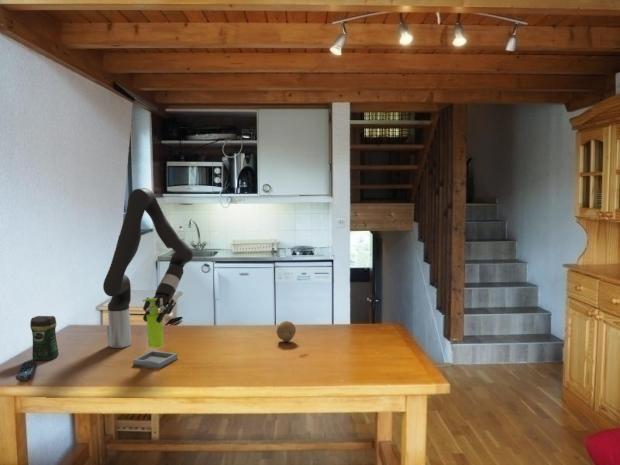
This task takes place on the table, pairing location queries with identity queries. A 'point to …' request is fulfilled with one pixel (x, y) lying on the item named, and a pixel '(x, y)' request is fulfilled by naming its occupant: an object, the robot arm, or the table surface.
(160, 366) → the tray
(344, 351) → the table surface
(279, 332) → the natural sponge
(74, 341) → the table surface
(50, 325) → the coffee jar
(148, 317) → the soap dispenser
